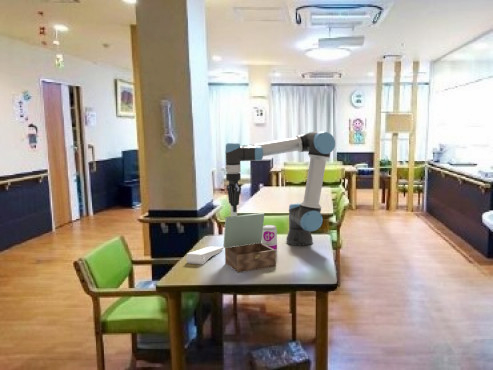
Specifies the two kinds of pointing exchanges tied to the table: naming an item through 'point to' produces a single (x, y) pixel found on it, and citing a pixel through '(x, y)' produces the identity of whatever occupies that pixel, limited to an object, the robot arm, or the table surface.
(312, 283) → the table surface
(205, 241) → the table surface
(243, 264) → the walnut box
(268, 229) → the supplement can
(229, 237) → the lid
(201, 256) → the white rectangular bar
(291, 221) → the robot arm
